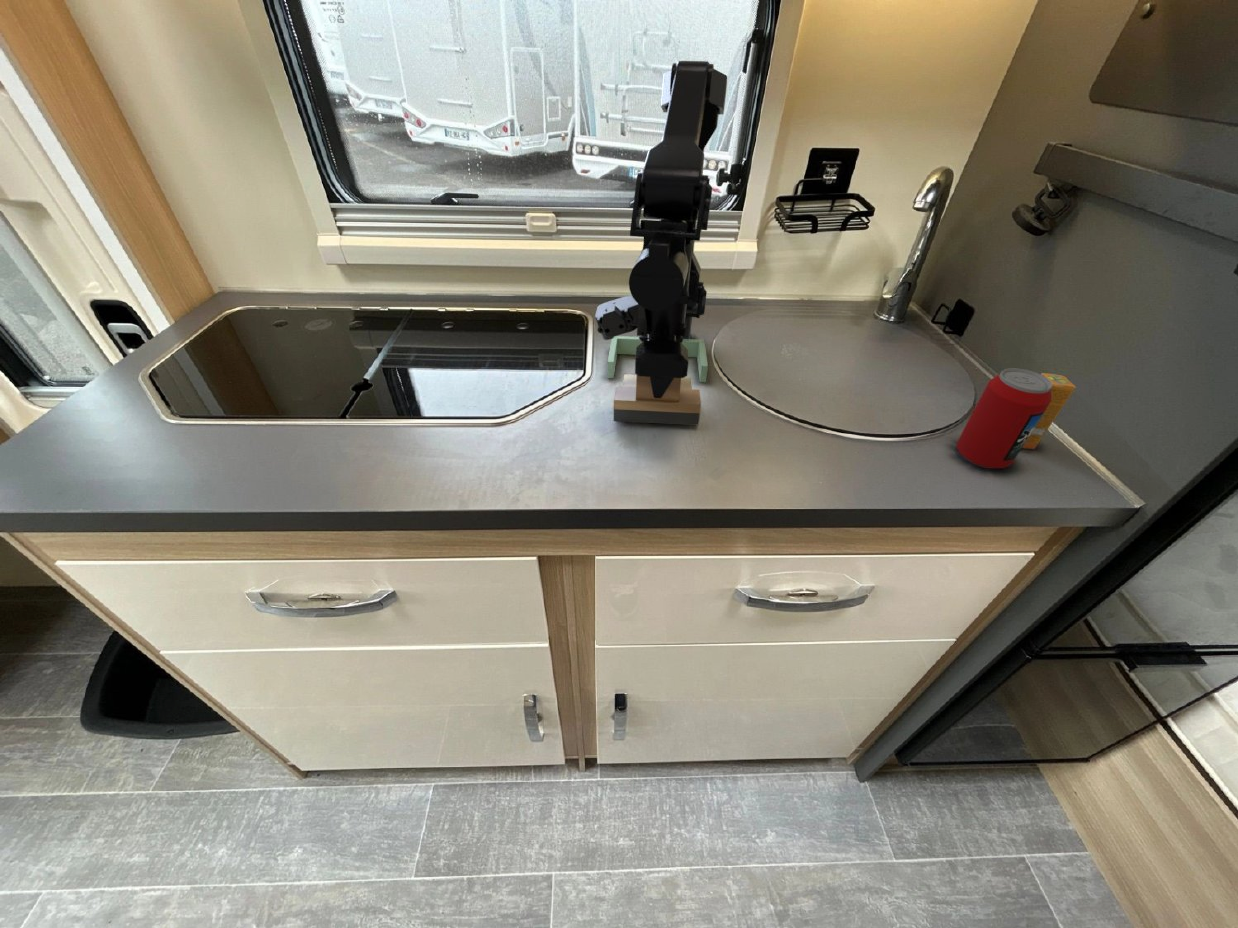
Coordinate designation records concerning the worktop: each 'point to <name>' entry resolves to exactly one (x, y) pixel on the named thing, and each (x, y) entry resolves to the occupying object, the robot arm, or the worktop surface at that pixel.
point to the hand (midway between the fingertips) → (657, 391)
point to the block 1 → (629, 380)
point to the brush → (657, 404)
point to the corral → (630, 343)
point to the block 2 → (686, 383)
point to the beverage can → (1004, 417)
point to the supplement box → (1051, 407)
